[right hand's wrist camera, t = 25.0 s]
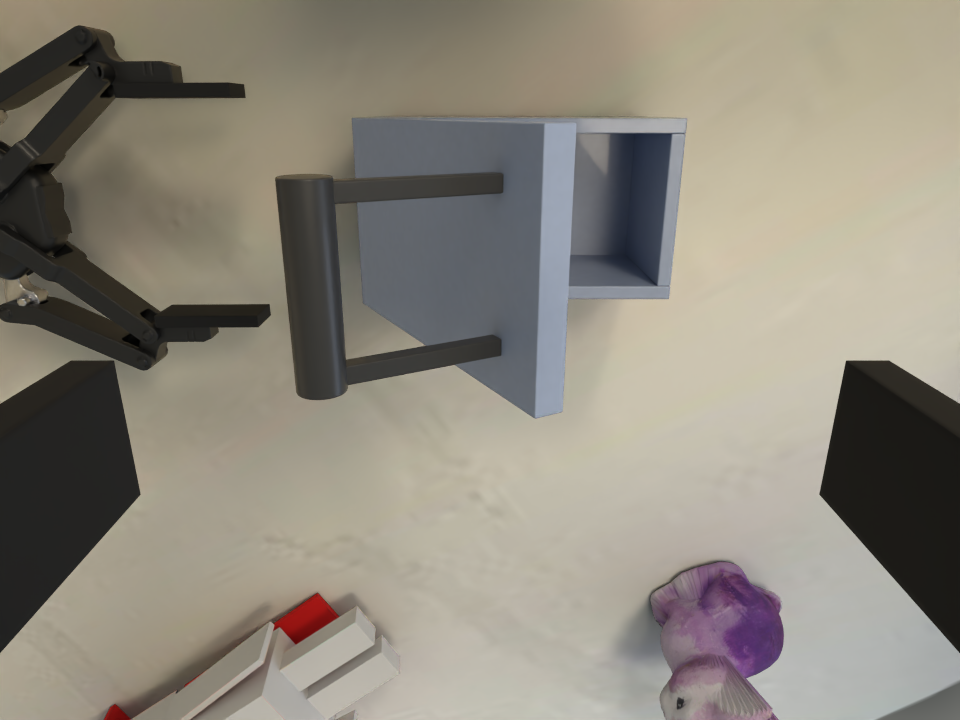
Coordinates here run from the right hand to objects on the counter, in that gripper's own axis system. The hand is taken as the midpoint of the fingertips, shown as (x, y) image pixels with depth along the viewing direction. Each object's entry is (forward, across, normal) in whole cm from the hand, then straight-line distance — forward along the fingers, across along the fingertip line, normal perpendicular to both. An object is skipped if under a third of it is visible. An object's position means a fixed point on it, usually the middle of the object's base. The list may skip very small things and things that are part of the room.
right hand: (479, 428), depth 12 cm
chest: (+38, +2, 0) cm, 38 cm away
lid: (+20, -1, 0) cm, 20 cm away
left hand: (+31, -14, 0) cm, 34 cm away
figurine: (+38, +20, -36) cm, 56 cm away
